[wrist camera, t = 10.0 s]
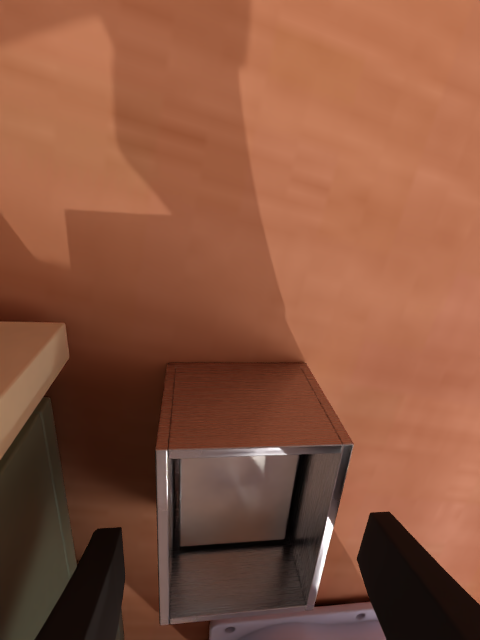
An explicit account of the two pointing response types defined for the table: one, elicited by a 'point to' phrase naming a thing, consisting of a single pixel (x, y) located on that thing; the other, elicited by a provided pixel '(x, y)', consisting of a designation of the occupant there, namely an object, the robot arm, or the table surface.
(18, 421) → the drawer
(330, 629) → the robot arm
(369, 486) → the table surface
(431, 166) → the table surface
